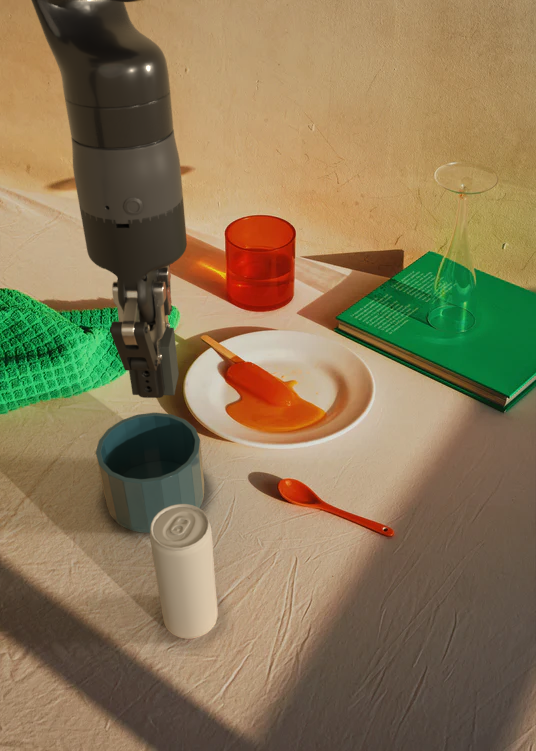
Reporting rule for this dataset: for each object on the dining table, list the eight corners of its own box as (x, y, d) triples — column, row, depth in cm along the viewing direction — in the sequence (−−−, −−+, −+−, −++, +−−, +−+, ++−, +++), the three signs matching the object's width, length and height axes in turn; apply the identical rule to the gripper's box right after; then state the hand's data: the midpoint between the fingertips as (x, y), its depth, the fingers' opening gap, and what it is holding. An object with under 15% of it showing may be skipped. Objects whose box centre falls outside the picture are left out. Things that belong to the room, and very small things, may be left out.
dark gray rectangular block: (174, 395, 63) (169, 347, 60) (132, 395, 63) (125, 347, 60) (178, 374, 65) (173, 327, 62) (138, 374, 65) (131, 326, 62)
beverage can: (153, 632, 63) (136, 539, 56) (179, 588, 67) (166, 495, 60) (204, 650, 62) (193, 557, 55) (227, 604, 65) (220, 511, 58)
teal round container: (140, 550, 70) (131, 499, 66) (88, 491, 77) (77, 441, 72) (224, 500, 75) (220, 449, 71) (168, 448, 82) (162, 399, 77)
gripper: (100, 158, 59) (127, 337, 70) (54, 237, 48) (94, 435, 58) (192, 159, 59) (206, 337, 69) (168, 237, 48) (188, 437, 58)
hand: (154, 381), depth 64 cm, fingers closed on dark gray rectangular block, 3 cm apart
